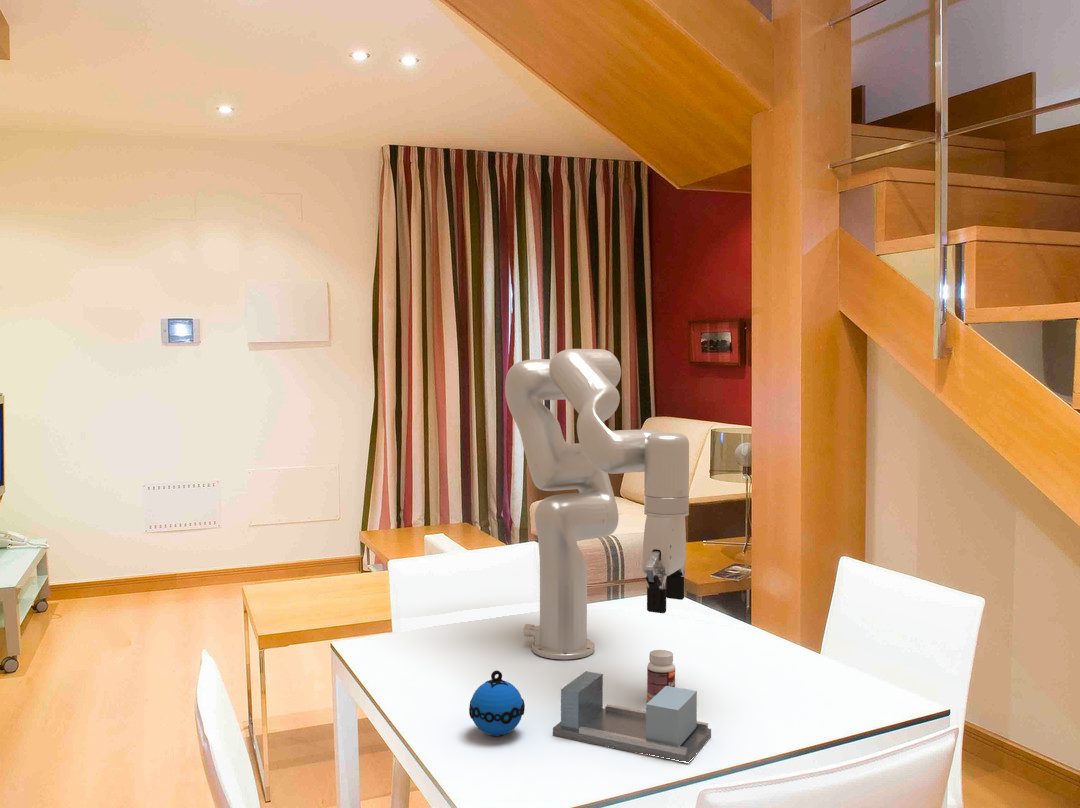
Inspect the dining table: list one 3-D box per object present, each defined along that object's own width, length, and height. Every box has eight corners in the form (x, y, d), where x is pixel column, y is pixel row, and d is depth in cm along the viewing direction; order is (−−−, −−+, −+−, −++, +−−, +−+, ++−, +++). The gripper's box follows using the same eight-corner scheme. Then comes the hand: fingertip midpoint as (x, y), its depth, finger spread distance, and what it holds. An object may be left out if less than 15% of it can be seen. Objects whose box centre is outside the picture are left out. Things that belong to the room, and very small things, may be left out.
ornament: (480, 749, 136) (480, 683, 136) (462, 728, 144) (461, 666, 144) (533, 739, 140) (533, 675, 139) (512, 719, 148) (512, 659, 147)
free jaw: (645, 741, 135) (646, 704, 135) (665, 721, 143) (666, 685, 143) (677, 748, 133) (678, 710, 133) (696, 727, 141) (696, 691, 141)
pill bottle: (674, 707, 153) (674, 658, 153) (645, 705, 154) (646, 656, 154) (675, 697, 158) (676, 649, 157) (648, 695, 159) (648, 647, 158)
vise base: (552, 735, 141) (552, 689, 141) (582, 711, 151) (582, 668, 151) (688, 764, 131) (689, 715, 131) (711, 736, 141) (711, 690, 141)
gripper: (662, 497, 164) (661, 591, 165) (627, 511, 148) (627, 615, 149) (702, 500, 161) (701, 596, 161) (671, 514, 145) (671, 620, 146)
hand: (666, 605), depth 155 cm, fingers open, 9 cm apart
